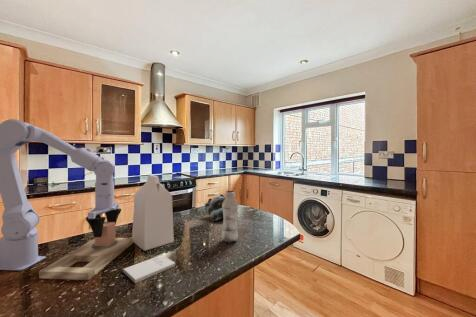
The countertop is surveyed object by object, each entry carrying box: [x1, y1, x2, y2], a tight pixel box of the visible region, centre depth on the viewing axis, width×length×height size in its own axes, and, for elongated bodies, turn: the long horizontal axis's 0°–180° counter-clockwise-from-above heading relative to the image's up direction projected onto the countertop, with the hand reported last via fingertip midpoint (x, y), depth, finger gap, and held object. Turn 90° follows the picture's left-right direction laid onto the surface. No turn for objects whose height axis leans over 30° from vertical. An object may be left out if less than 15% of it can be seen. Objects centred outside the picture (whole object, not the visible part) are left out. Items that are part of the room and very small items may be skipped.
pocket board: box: [38, 237, 134, 281], centre depth 73 cm, size 14×24×2 cm, turn 178°
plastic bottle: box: [221, 190, 239, 243], centre depth 88 cm, size 6×7×20 cm
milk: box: [131, 174, 175, 251], centre depth 86 cm, size 12×12×26 cm
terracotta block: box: [94, 221, 116, 246], centre depth 79 cm, size 4×4×7 cm
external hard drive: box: [122, 254, 176, 284], centre depth 67 cm, size 2×8×12 cm
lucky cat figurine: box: [204, 194, 226, 222], centre depth 118 cm, size 15×12×14 cm
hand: (104, 232), depth 78 cm, fingers open, 7 cm apart
